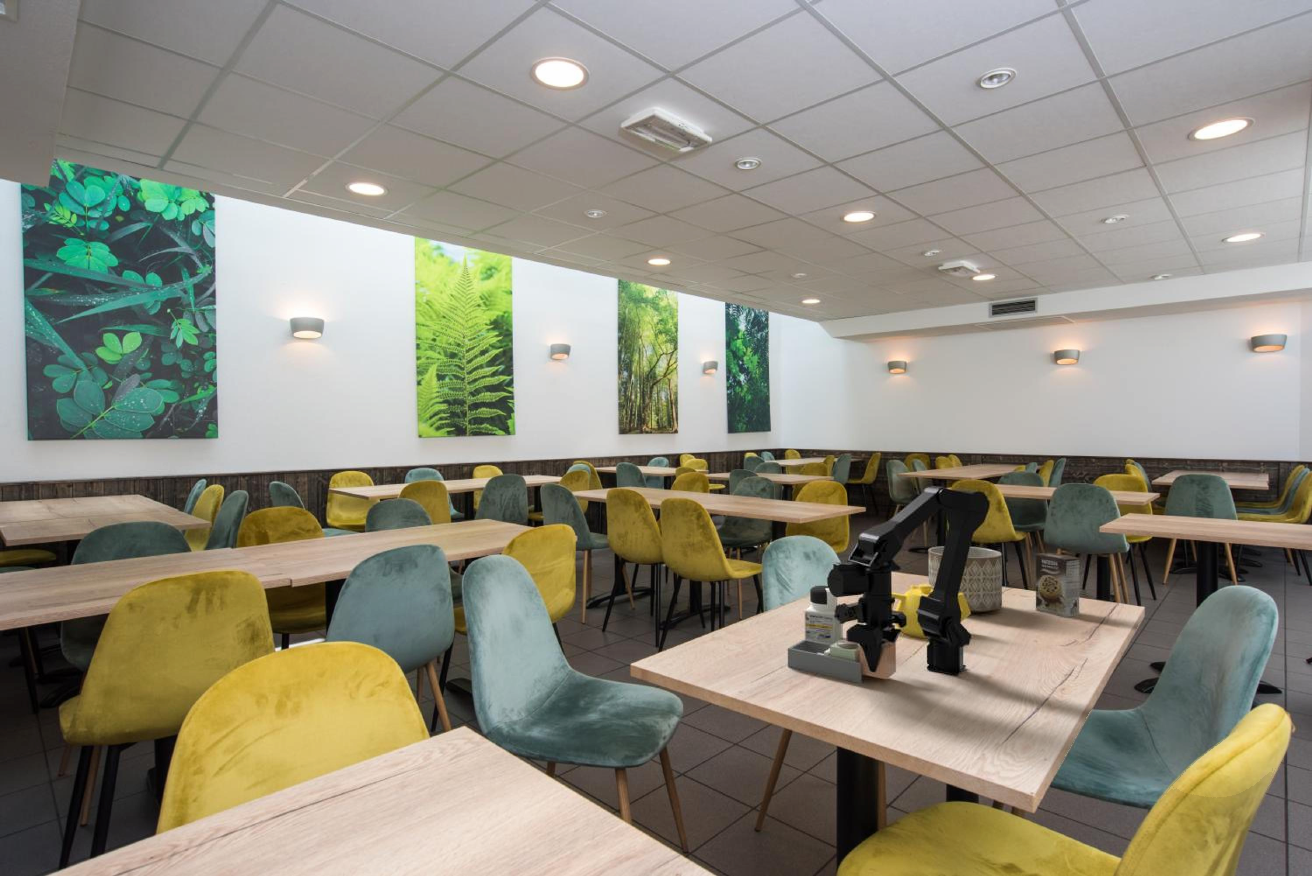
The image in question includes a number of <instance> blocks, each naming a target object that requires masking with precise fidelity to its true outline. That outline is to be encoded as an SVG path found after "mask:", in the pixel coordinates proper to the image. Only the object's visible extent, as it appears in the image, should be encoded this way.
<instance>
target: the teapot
mask: <svg viewBox="0 0 1312 876" xmlns="http://www.w3.org/2000/svg"><path fill="white" fill-rule="evenodd" d="M918 587H919V588H918ZM931 589H932V586H931V585H929V584H927V583H921V584H918V585H916V584H915V585H912V584H911V585H910V589H908V590H907V591H906V592H905V593H904V594H903V593H902V594H901V593H897V592H893V591H892V597H895V600H899V601H898V603H897V606H896V608H895V611H900V612H903V613H904V614H905V615H906V617H907V625H906V626H905V627H903V628H900V627H899V624H895V627H897V629H901V630H902V631H901V633H903V634H905V635H908V636H912V637H916V638H921V639H928V640H929V639H930V638H929V637H926V636H924V634H923V631H922V628H921V627H920V625H919V622H918V621H917V617H918V614H917V613H916V611H917V610H918V607H919V603H920V598H921V596H922V595H923V596H926V597H927V596H928V595H929V594H930V593H931V592H932V591H933V590H931ZM958 601H959V604H960V608H961V611H962V615H961V623H962V622H963V621H964V620H966V618H968V617H969V616H970V615H971V614H972V613H971V612H970V609H969V607H968V604H967V601H966V599H965V596H964V594H963V593H959V594H958ZM894 606H895V602H894V603H893V604H892V610H894Z"/></svg>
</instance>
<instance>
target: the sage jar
mask: <svg viewBox="0 0 1312 876" xmlns="http://www.w3.org/2000/svg"><path fill="white" fill-rule="evenodd" d="M830 656H831V657H835V658H840V659H845V660H850V661H854V662H859V663H860V645H859V644H858V643H854V642H849V641H847V640H846V638H845V639H840V640H838V641H837V642H836V643H835V644H833V645H831V646H830Z"/></svg>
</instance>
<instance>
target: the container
mask: <svg viewBox="0 0 1312 876" xmlns="http://www.w3.org/2000/svg"><path fill="white" fill-rule="evenodd" d="M809 593H810V597H809V598H810V601H809V602H810V603H809V604H810V606H809V607H807V608H806V609H805V610H804V639H805V640H810V641H815V642H820V643H825V644H831V645H833V644H835V643H836V642H837V641H838V640H842V638H843V637H844V630H843V629H844V628H843V627H844V624H840V622H839V620H837V618H835V617H834V614H835V611H834V610H835V609H836V606H837V605H838V597H834V596H833V595H832V594H831V592H830V590H829V588H828V585H815V586H813V587H811V588H810V589H809Z"/></svg>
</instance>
